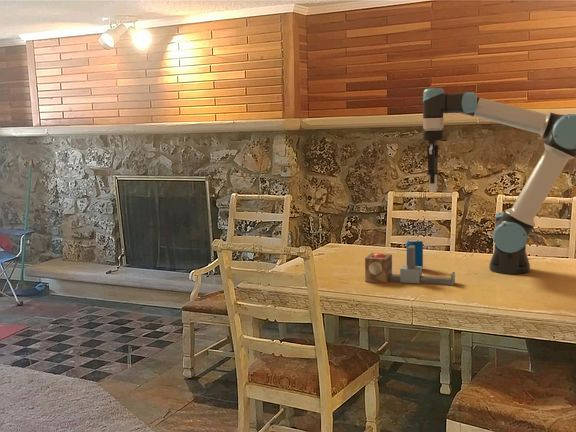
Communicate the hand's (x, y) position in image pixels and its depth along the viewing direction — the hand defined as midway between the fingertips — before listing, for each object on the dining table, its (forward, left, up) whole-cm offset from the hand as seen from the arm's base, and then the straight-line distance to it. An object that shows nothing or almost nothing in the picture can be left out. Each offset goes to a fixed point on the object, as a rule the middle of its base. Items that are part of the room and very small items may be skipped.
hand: (432, 191), depth 237 cm
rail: (+2, +14, -32) cm, 35 cm away
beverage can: (+8, -6, -33) cm, 34 cm away
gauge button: (+18, +14, -28) cm, 36 cm away
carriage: (+6, +14, -32) cm, 36 cm away
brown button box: (+18, +14, -32) cm, 40 cm away
